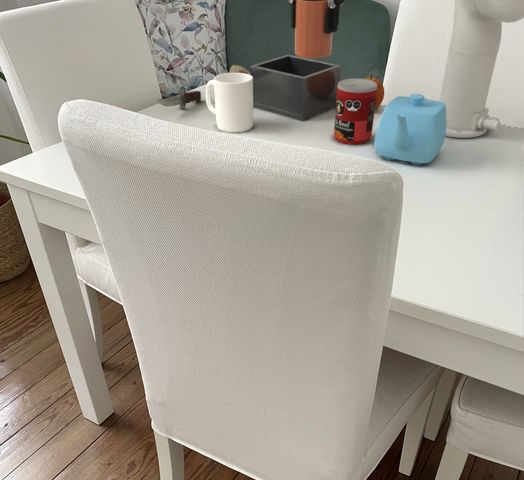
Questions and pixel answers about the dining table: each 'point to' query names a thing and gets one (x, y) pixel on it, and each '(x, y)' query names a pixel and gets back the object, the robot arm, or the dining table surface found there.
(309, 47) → the terracotta cup
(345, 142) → the canned food
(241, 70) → the mug
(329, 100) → the dark grey open box
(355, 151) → the dining table surface
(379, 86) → the fruit
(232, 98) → the cup
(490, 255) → the dining table surface
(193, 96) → the knife
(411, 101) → the teapot
